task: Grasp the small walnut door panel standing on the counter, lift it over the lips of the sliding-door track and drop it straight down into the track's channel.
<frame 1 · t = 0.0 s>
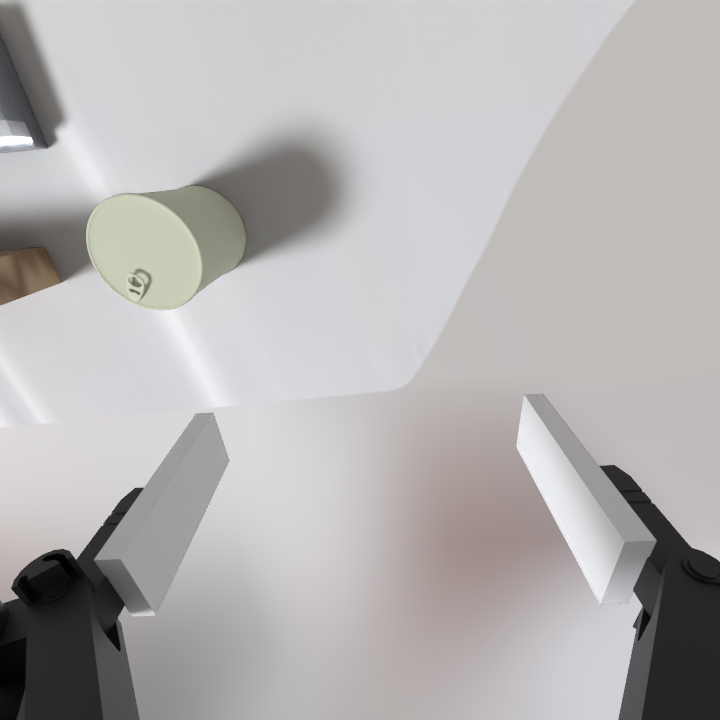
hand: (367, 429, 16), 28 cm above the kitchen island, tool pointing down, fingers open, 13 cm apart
can: (204, 232, 39), on the kitchen island
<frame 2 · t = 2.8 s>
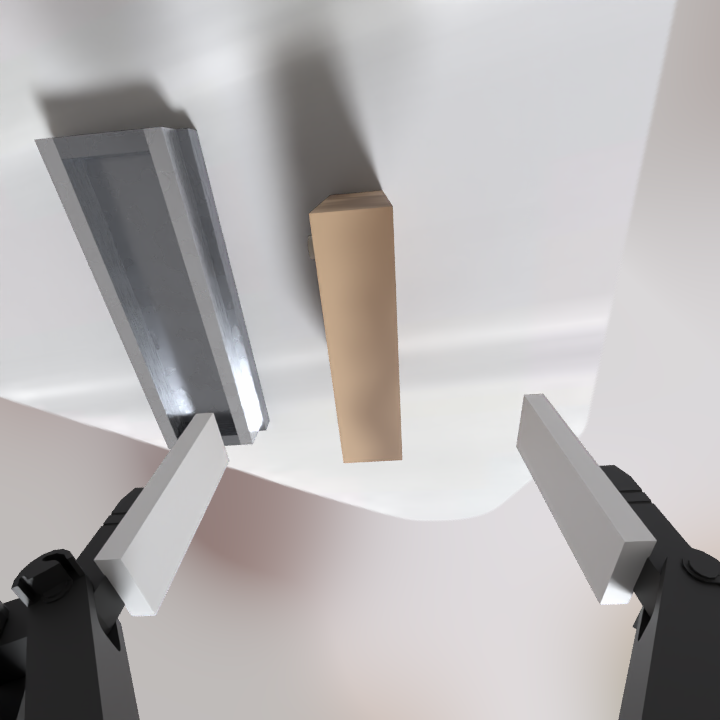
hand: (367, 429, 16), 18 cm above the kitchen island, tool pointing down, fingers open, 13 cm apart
door track: (184, 307, 32), on the kitchen island
door panel: (364, 293, 32), on the kitchen island
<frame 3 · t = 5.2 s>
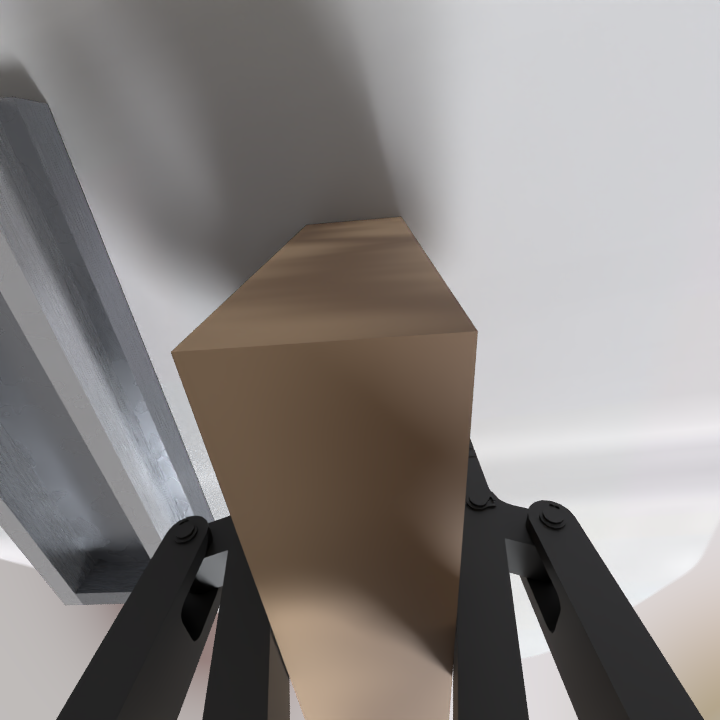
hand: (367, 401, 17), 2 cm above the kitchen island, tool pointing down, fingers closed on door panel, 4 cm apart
door track: (75, 400, 20), on the kitchen island
door panel: (367, 382, 19), on the kitchen island, touching gripper
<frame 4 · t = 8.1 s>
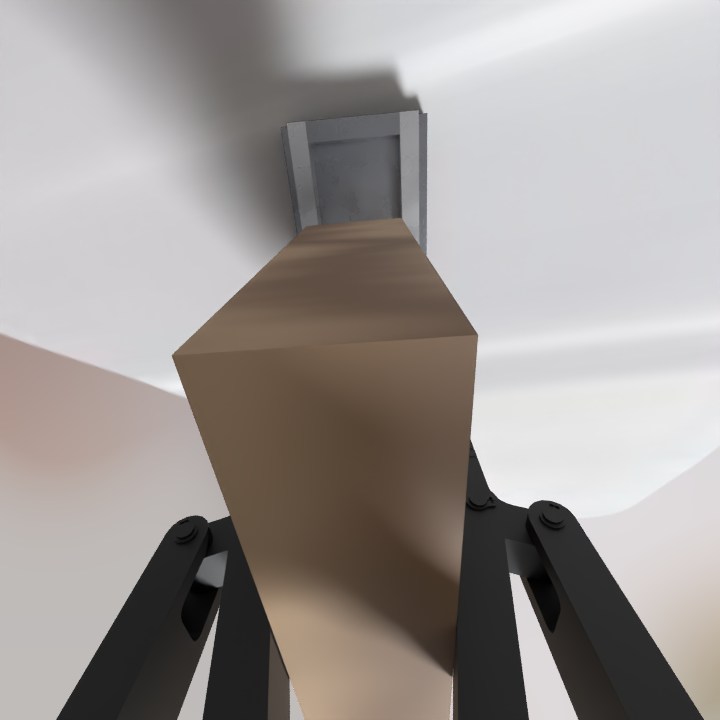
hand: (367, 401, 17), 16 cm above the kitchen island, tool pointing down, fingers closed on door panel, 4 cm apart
door track: (366, 297, 32), on the kitchen island
door panel: (367, 383, 19), point 15 cm above the kitchen island, touching gripper
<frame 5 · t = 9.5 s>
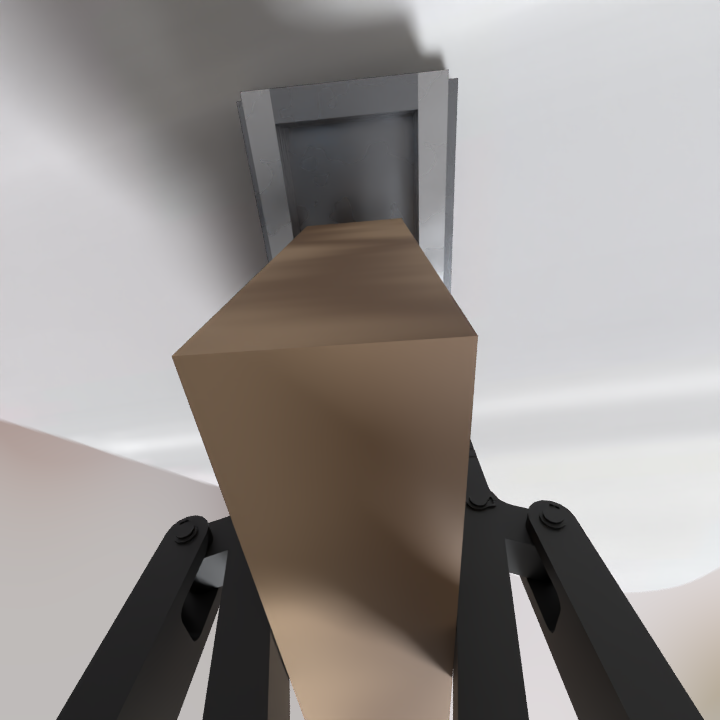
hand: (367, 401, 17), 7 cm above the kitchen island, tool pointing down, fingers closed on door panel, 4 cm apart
door track: (366, 338, 24), on the kitchen island
door panel: (367, 383, 19), point 5 cm above the kitchen island, touching gripper
when the fingers open (4 cm above the kitchen island, at t = 10.8 s): door panel stays where it is, resting on door track.
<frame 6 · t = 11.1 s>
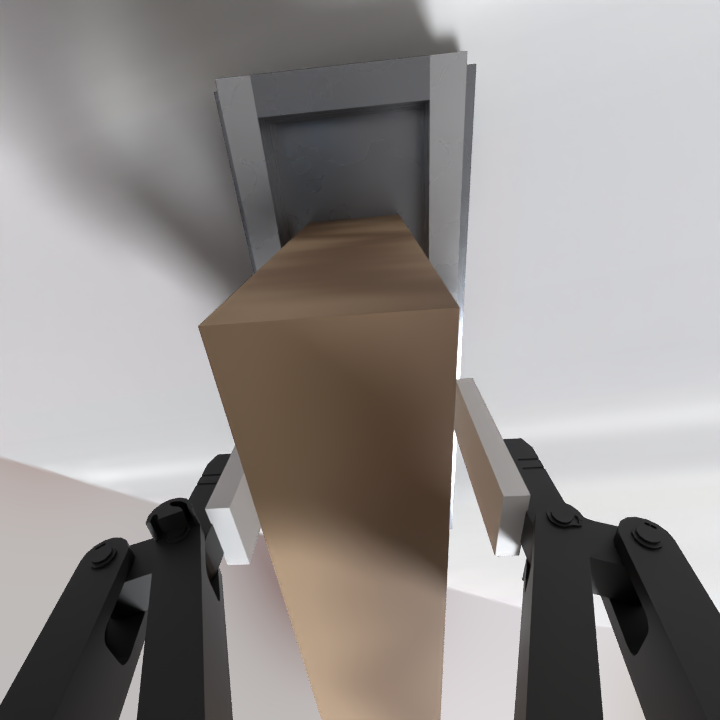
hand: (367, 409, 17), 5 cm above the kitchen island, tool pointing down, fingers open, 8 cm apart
door track: (367, 361, 21), on the kitchen island
door panel: (367, 374, 20), point 1 cm above the kitchen island, touching door track
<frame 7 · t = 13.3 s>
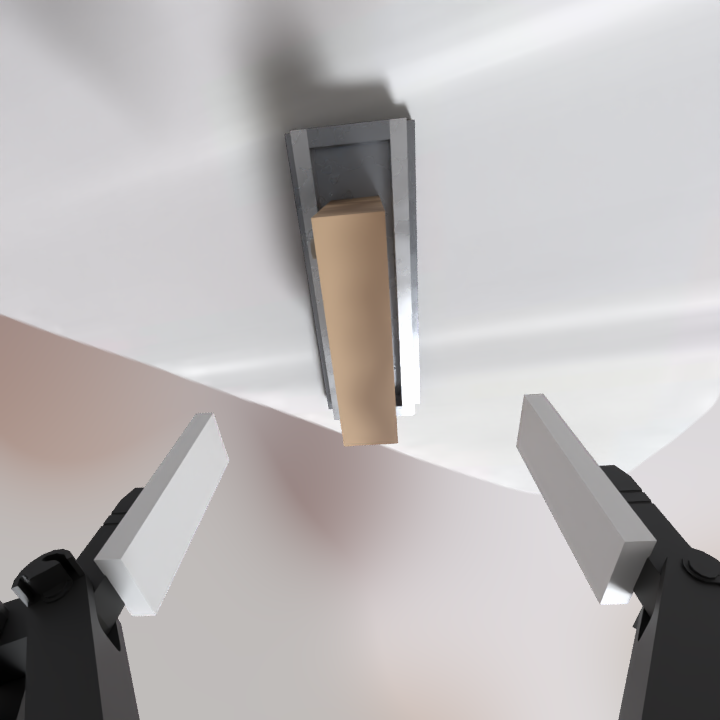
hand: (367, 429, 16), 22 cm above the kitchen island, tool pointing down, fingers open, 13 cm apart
door track: (363, 286, 35), on the kitchen island
door panel: (363, 291, 34), point 1 cm above the kitchen island, touching door track
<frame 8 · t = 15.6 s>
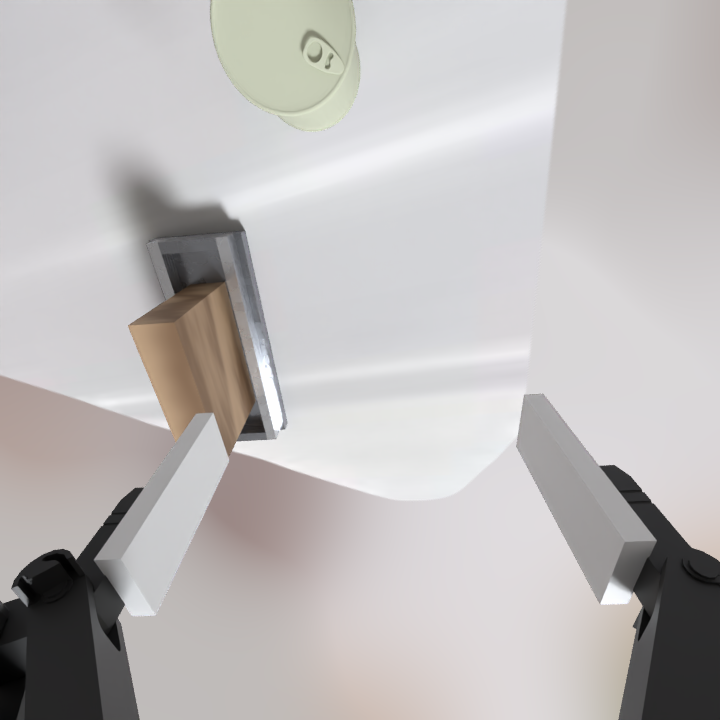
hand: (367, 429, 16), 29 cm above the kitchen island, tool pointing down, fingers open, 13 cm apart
door track: (230, 342, 46), on the kitchen island
can: (309, 72, 33), on the kitchen island
door panel: (225, 347, 44), point 1 cm above the kitchen island, touching door track
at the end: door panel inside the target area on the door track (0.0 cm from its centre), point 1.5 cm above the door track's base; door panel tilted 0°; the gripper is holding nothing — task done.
